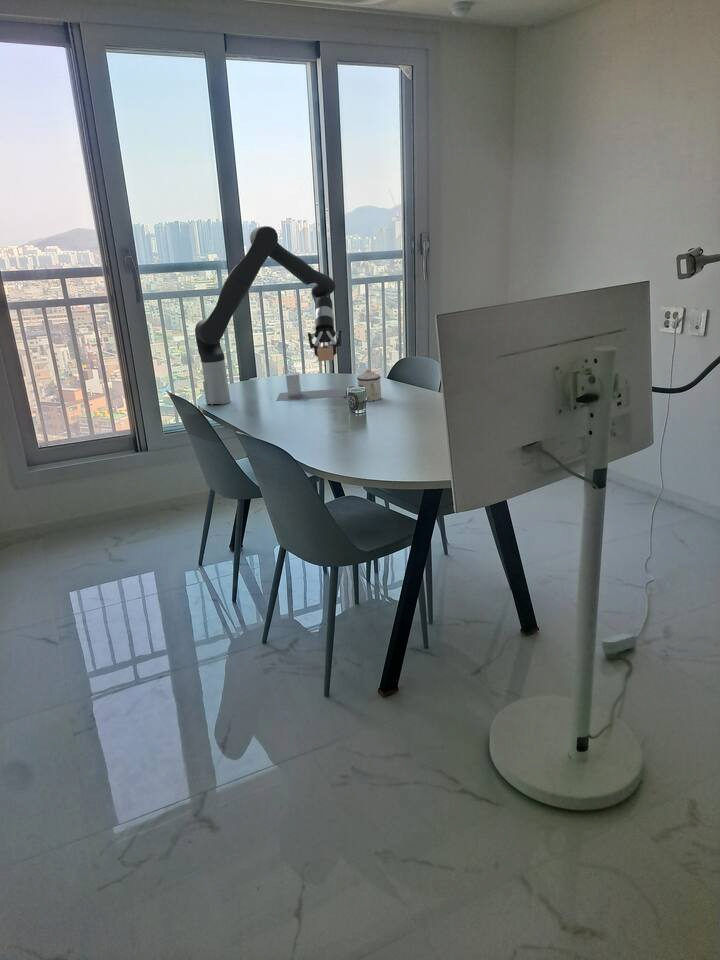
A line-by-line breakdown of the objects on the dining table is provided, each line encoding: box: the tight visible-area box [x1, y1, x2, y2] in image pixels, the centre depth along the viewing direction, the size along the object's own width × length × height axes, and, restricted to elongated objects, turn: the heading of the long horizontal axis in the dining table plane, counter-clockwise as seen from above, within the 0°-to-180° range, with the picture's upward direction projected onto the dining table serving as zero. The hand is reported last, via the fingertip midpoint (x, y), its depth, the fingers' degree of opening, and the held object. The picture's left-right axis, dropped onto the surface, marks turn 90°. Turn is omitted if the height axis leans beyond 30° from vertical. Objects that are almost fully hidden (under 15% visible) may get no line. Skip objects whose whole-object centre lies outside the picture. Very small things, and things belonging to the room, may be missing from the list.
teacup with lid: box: [356, 368, 382, 402], centre depth 253 cm, size 12×9×12 cm
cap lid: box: [317, 344, 335, 362], centre depth 262 cm, size 6×6×5 cm
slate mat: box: [276, 388, 347, 402], centre depth 268 cm, size 28×14×1 cm, turn 90°
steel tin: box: [285, 371, 302, 398], centre depth 266 cm, size 5×5×9 cm
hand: (325, 354), depth 260 cm, fingers closed on cap lid, 6 cm apart
